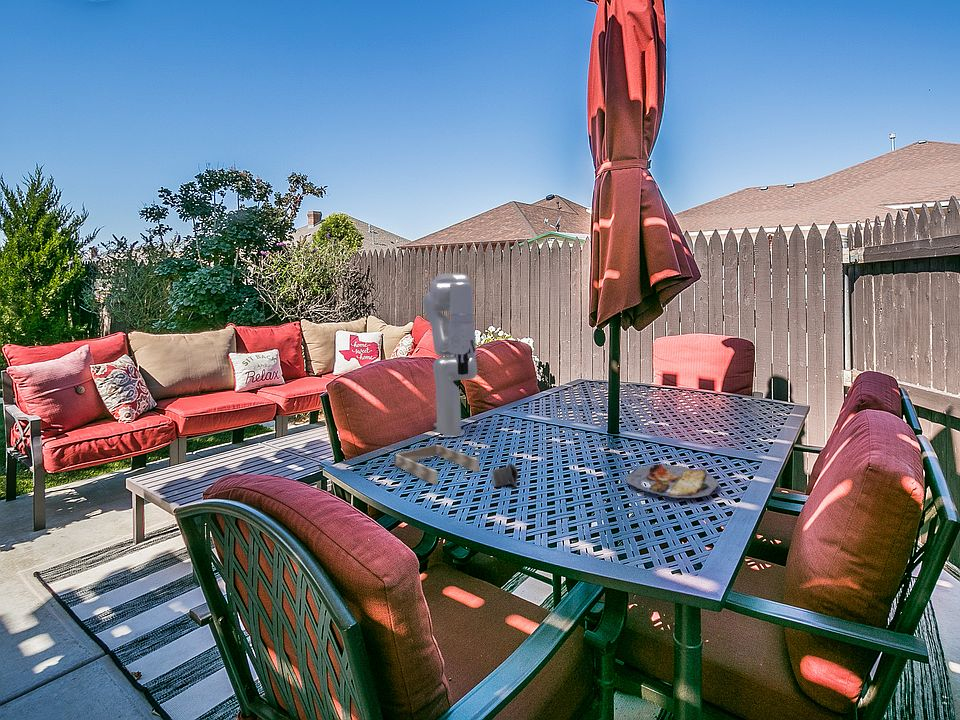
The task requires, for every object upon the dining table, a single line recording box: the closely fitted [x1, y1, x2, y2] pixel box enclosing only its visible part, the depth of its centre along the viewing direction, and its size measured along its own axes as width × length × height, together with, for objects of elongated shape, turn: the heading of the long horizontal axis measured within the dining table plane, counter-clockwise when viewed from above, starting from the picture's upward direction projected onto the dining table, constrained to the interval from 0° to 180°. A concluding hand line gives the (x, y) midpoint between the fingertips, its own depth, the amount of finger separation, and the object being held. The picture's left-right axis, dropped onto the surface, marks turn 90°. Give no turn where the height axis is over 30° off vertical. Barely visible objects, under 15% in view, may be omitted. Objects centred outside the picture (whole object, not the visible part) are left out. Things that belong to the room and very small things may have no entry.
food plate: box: [625, 463, 720, 500], centre depth 145 cm, size 25×23×4 cm
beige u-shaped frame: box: [393, 444, 480, 486], centre depth 164 cm, size 23×17×4 cm
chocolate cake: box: [489, 462, 519, 488], centre depth 151 cm, size 10×7×12 cm
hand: (463, 374), depth 171 cm, fingers closed
